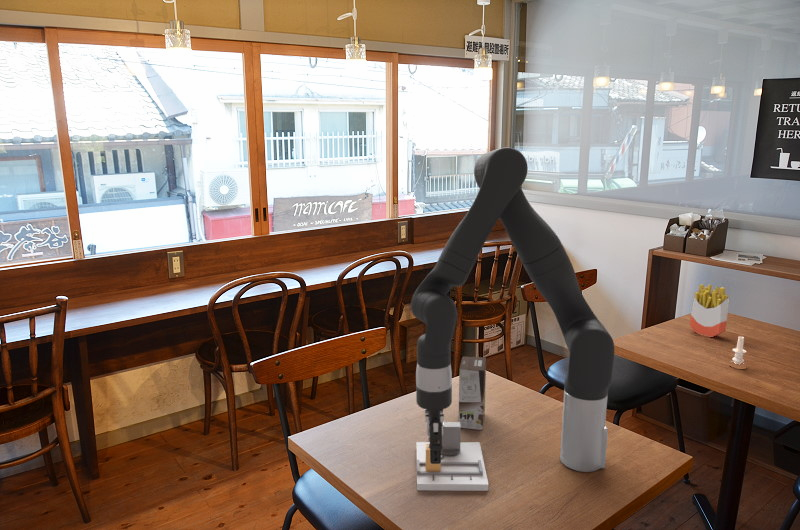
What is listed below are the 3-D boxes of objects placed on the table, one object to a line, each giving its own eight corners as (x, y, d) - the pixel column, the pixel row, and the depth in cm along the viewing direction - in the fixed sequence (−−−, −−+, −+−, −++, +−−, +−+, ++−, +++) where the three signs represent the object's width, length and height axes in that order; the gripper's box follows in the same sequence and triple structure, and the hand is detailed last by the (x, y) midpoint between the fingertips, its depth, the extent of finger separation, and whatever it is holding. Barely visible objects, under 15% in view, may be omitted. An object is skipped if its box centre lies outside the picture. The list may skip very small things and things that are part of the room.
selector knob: (459, 444, 141) (459, 417, 140) (461, 456, 136) (461, 428, 135) (437, 444, 141) (437, 417, 140) (438, 456, 136) (438, 428, 135)
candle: (750, 369, 187) (754, 338, 184) (733, 369, 187) (737, 338, 184) (741, 363, 192) (745, 332, 189) (724, 363, 192) (728, 332, 190)
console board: (479, 448, 143) (479, 438, 142) (488, 490, 126) (488, 480, 126) (416, 447, 143) (416, 438, 143) (417, 490, 127) (417, 479, 126)
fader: (439, 464, 133) (440, 442, 132) (440, 471, 130) (440, 449, 129) (425, 464, 133) (425, 442, 132) (425, 471, 130) (425, 449, 129)
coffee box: (483, 430, 151) (484, 370, 147) (457, 428, 152) (458, 368, 149) (485, 413, 160) (487, 356, 156) (461, 411, 161) (462, 355, 157)
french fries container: (717, 340, 212) (723, 291, 208) (688, 331, 221) (693, 284, 216) (724, 337, 214) (730, 289, 210) (695, 329, 223) (701, 282, 219)
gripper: (454, 397, 120) (454, 470, 123) (449, 369, 133) (449, 435, 137) (416, 398, 120) (417, 471, 123) (415, 369, 134) (416, 435, 137)
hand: (434, 452), depth 130 cm, fingers open, 8 cm apart
